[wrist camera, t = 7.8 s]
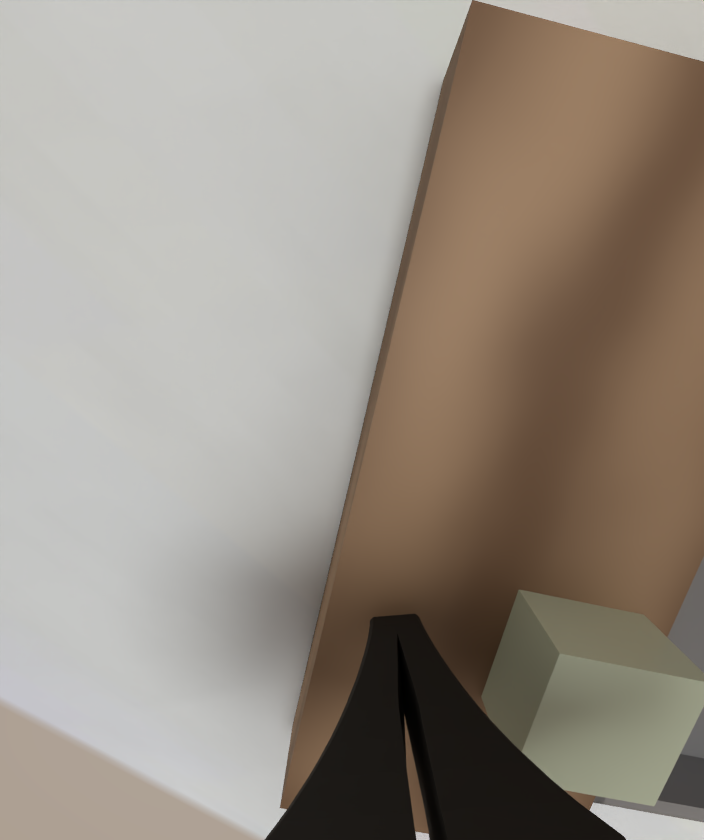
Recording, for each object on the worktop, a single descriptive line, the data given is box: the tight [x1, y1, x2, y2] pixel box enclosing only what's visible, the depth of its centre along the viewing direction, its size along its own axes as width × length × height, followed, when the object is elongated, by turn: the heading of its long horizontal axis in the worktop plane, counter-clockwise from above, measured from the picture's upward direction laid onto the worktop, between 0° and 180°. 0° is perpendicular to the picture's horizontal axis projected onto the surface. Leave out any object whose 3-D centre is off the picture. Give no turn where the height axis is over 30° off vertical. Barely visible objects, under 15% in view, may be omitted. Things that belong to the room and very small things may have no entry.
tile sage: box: [481, 590, 704, 806], centre depth 12 cm, size 4×4×2 cm
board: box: [280, 0, 704, 834], centre depth 13 cm, size 10×24×3 cm, turn 168°
